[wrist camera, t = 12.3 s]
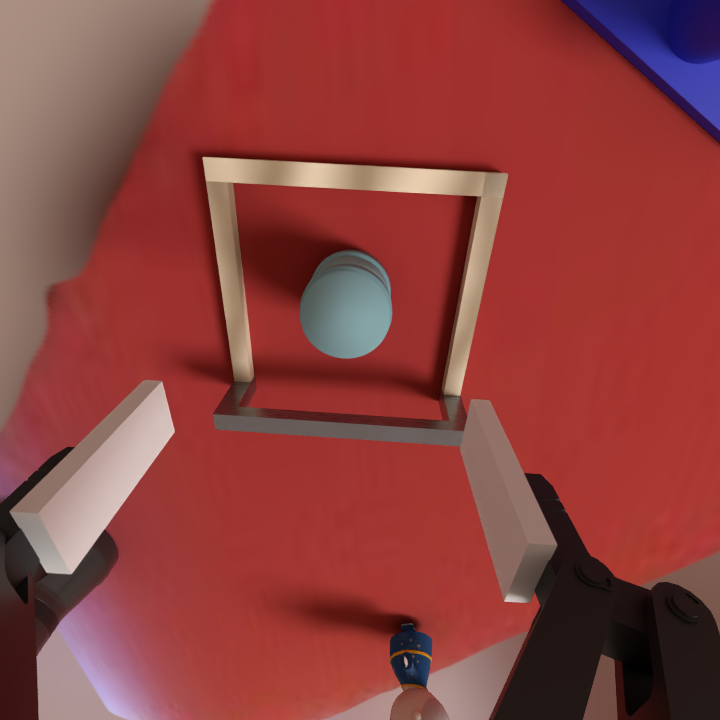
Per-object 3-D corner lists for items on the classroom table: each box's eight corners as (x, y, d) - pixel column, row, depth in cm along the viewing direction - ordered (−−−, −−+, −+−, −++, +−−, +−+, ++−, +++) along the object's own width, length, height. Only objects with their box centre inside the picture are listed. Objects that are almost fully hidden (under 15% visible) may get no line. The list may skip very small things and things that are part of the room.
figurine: (376, 607, 55) (374, 820, 37) (439, 599, 53) (468, 819, 35) (397, 649, 61) (404, 850, 43) (455, 644, 59) (487, 851, 41)
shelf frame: (240, 388, 36) (236, 395, 35) (209, 156, 27) (202, 156, 26) (454, 402, 36) (456, 410, 35) (503, 172, 26) (508, 173, 25)
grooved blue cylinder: (314, 319, 33) (298, 358, 26) (312, 244, 29) (294, 269, 23) (387, 323, 32) (388, 363, 26) (393, 249, 29) (396, 275, 23)
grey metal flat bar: (240, 388, 36) (215, 429, 31) (238, 374, 36) (212, 414, 30) (455, 402, 36) (468, 446, 31) (458, 388, 35) (471, 431, 30)
